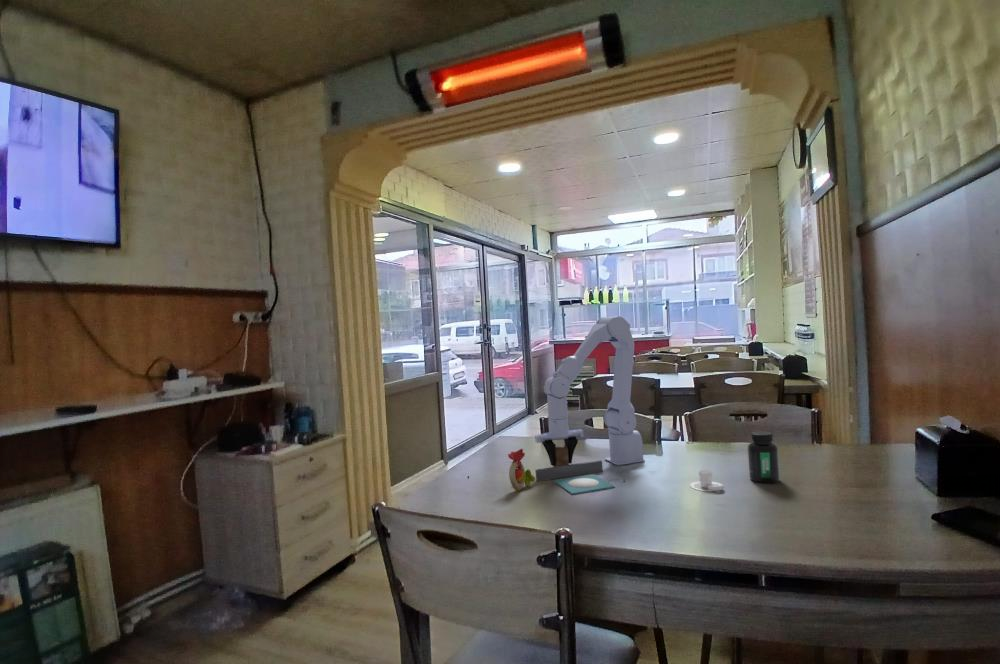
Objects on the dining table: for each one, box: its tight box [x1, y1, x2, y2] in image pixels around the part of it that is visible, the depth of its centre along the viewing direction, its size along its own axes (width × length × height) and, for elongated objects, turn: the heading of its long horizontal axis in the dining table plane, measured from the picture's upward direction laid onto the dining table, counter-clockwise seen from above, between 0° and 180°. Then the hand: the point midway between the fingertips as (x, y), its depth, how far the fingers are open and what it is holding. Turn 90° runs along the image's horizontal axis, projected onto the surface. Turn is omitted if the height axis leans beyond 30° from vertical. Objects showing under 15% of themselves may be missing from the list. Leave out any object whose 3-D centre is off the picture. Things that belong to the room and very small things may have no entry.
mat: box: [553, 473, 616, 495], centre depth 138 cm, size 12×12×1 cm
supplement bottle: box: [747, 430, 780, 485], centre depth 132 cm, size 7×7×12 cm
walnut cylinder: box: [553, 444, 570, 467], centre depth 152 cm, size 4×4×7 cm
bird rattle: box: [507, 448, 536, 493], centre depth 138 cm, size 6×11×9 cm
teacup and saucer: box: [689, 469, 725, 492], centre depth 130 cm, size 9×8×4 cm
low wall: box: [534, 459, 603, 482], centre depth 147 cm, size 20×1×3 cm, turn 106°
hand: (561, 463), depth 152 cm, fingers closed on walnut cylinder, 4 cm apart
